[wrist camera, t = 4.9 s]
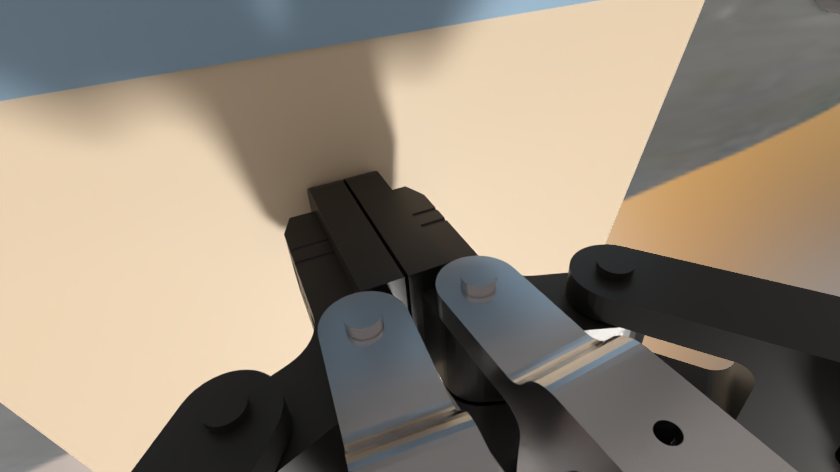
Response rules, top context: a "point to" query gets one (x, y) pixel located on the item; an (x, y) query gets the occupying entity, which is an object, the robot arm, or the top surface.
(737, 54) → the top surface
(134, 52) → the box lid
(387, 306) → the robot arm
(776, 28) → the top surface
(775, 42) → the top surface
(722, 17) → the top surface
